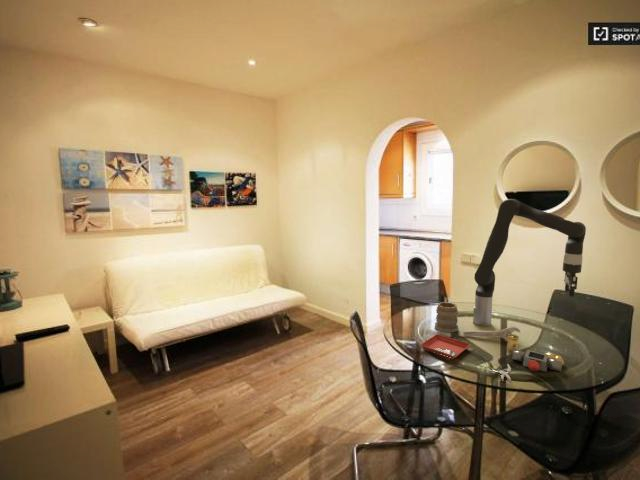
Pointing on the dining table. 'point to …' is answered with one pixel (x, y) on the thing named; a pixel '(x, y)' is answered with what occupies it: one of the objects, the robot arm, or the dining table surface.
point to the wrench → (490, 333)
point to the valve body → (536, 360)
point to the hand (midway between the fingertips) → (569, 293)
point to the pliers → (504, 373)
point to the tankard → (446, 317)
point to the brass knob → (512, 342)
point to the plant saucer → (445, 345)
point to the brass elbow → (555, 357)
